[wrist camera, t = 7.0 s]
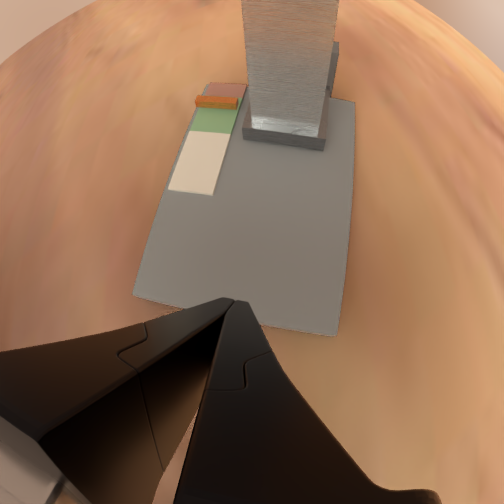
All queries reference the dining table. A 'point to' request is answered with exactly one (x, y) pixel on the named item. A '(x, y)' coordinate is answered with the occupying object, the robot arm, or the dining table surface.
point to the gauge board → (255, 219)
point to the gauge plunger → (285, 71)
